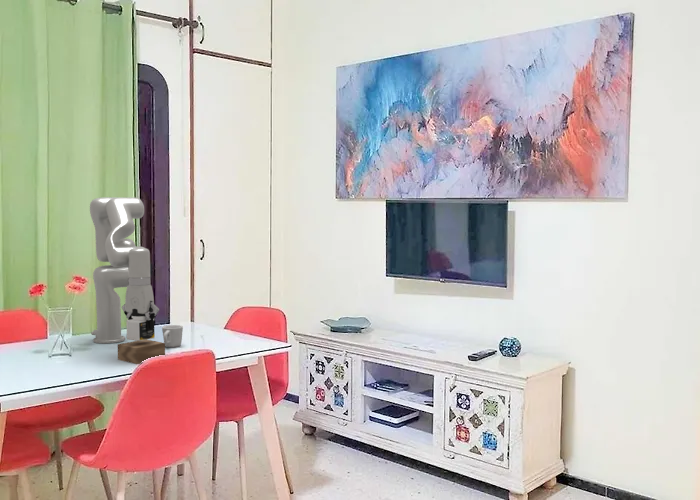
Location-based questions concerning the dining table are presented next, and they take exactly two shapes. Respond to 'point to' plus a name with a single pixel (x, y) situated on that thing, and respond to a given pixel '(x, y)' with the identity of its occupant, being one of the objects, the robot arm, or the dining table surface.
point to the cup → (172, 335)
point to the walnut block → (140, 350)
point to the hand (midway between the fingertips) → (140, 329)
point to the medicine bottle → (138, 327)
